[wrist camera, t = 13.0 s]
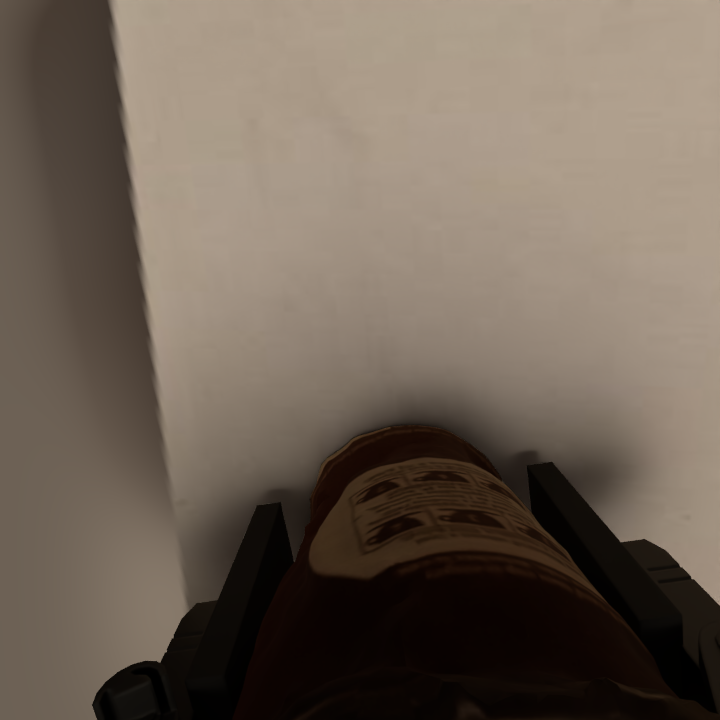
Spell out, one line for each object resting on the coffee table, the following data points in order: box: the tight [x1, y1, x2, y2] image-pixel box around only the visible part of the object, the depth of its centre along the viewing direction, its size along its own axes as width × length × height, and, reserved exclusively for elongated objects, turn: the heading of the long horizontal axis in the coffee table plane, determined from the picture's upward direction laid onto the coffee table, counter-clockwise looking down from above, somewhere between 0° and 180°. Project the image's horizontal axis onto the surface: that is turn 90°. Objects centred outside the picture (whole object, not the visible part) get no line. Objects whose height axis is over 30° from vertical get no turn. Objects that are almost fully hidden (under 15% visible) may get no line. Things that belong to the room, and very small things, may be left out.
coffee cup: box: [232, 425, 720, 720], centre depth 11 cm, size 9×8×13 cm
